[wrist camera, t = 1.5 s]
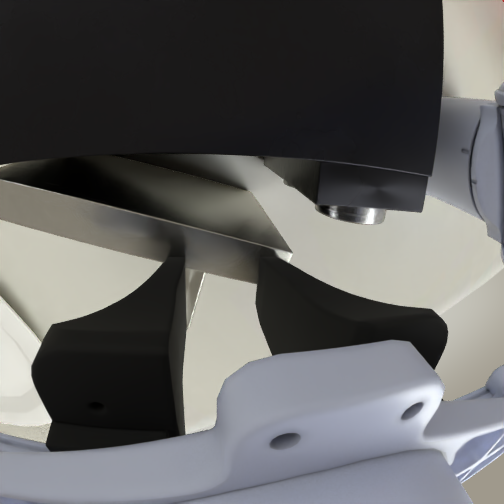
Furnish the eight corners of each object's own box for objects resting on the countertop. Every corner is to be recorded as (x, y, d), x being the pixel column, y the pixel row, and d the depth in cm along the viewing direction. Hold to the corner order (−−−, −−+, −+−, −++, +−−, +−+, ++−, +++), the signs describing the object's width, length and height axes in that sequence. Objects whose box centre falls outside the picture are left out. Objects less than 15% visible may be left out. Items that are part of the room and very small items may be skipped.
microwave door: (221, 281, 23) (238, 380, 14) (53, 239, 19) (-15, 316, 11) (252, 191, 21) (293, 252, 12) (67, 145, 17) (-20, 174, 8)
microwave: (333, 181, 21) (421, 232, 12) (66, 177, 18) (-18, 228, 9) (348, -21, 15) (432, -74, 6) (86, -34, 12) (29, -103, 3)
